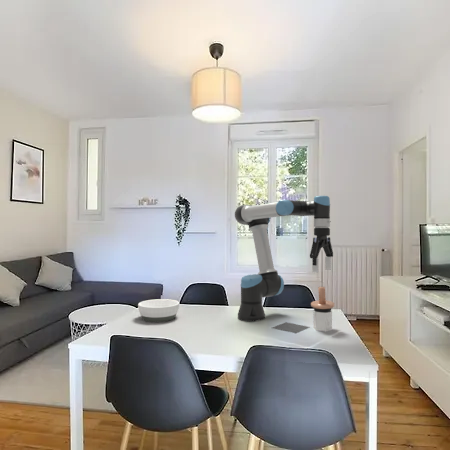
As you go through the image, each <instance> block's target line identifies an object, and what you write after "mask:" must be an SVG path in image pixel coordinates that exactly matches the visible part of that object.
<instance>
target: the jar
mask: <svg viewBox="0 0 450 450" xmlns="http://www.w3.org/2000/svg"><path fill="white" fill-rule="evenodd" d="M312 315H313V316H312V317H313V321H312V323H313V324H312V325H313V326H312V327H313V329H314V330H315V331H319V332H331V331H332V330H333V312H332V308H330V309H316V308H313V310H312Z"/></svg>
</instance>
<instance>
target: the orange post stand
mask: <svg viewBox="0 0 450 450" xmlns="http://www.w3.org/2000/svg"><path fill="white" fill-rule="evenodd" d="M317 289H318V300H314V301H311V302H310V306H311V308H313V309H314V308H316V309H330V308H331V309H333V308H334V307H335V302H333V301H332V300H326V299H327V298H326V297H327V296H326V286H318V287H317Z"/></svg>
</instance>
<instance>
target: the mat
mask: <svg viewBox="0 0 450 450" xmlns="http://www.w3.org/2000/svg"><path fill="white" fill-rule="evenodd" d="M309 328H311V326H307V325H302V324H297V323H292V322H287V321H285V322H282V323H281V324H280V323H279V324H278V325H275V326H272V327H271V329H272V330H273V329H274V330H279V331H284V332H287V333H292V334H297V333H300V332H302V331H303V332H304V330H307V329H309Z"/></svg>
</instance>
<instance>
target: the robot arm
mask: <svg viewBox="0 0 450 450" xmlns="http://www.w3.org/2000/svg"><path fill="white" fill-rule="evenodd" d="M330 215H331V198H330V197H329V196H328V195H316V196H314V198H313V200H294V199H290V200H289V199H280V200H278V201H275V202H274V201H273V202H270V203H263V204H257V205H253V204H252V205H251V204H250V205H249V204H243V205H242V204H241V205H240V206H238V207H237V208H236V209H235V210H234V218H235V221H237V223H239V224H241V225H247V226H248V230H250V232H251V233H252V238H253V243H254V249H255V254H256V259H257V264H258V269H259V270H258V271H259V272H258V273H257V274H256V273H255V274H247V275H244V276H243V277H241V279H240V306H239V309H238V313H237V319H238V320H240V321H243V322H256V321H262V320H265V319H266V313H265V310H264V306H263V298H268V297H276V296H279V295H280V294H282V293H283V290H284V287H285V281H284V278H283V277H282V276H281V275H280V274H279V273H278V270H276V269H275V267H274V266H275V265H274V261H273V260H274V259H273V256H272V251H271V245H270V239H269V235H268V231H267V230H268V228H269V224H270V221H271V218H278V217H286V216H287V217H289V216H293V217H294V216H298V217H309V216H311V217H312V216H313V218H314V219H313V227H314V229H313V234H314V236H316V237H313V238H312V245H311V249H310V253H309V259H312V260H311V261H312V270H311V272H312V273H318V274H319V255H320V252H321V249H323V251H324V254H325V259H324V263H325V264H324V269H325V270H327V271H332V258H333V257H334V251H333V247H332V242H331V237H330V235H331V229H330V227H331V220H330V219H331V216H330Z"/></svg>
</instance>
